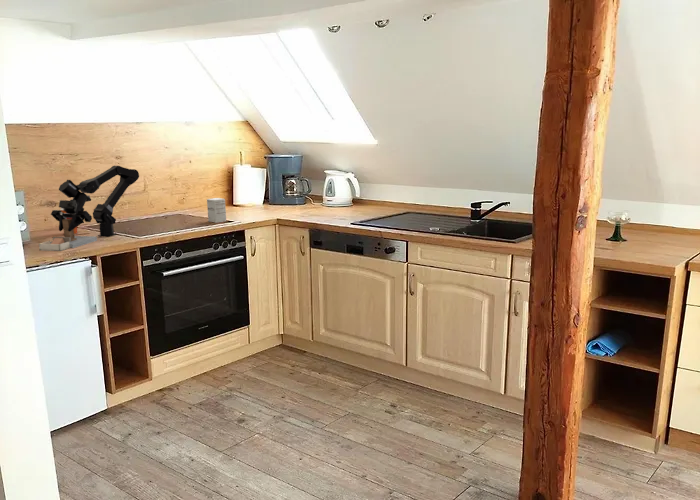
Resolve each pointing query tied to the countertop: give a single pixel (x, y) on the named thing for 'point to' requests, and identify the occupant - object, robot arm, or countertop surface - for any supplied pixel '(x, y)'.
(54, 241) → the tile
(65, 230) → the scraper
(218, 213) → the supplement box
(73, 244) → the board
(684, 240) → the countertop surface
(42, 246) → the tray
